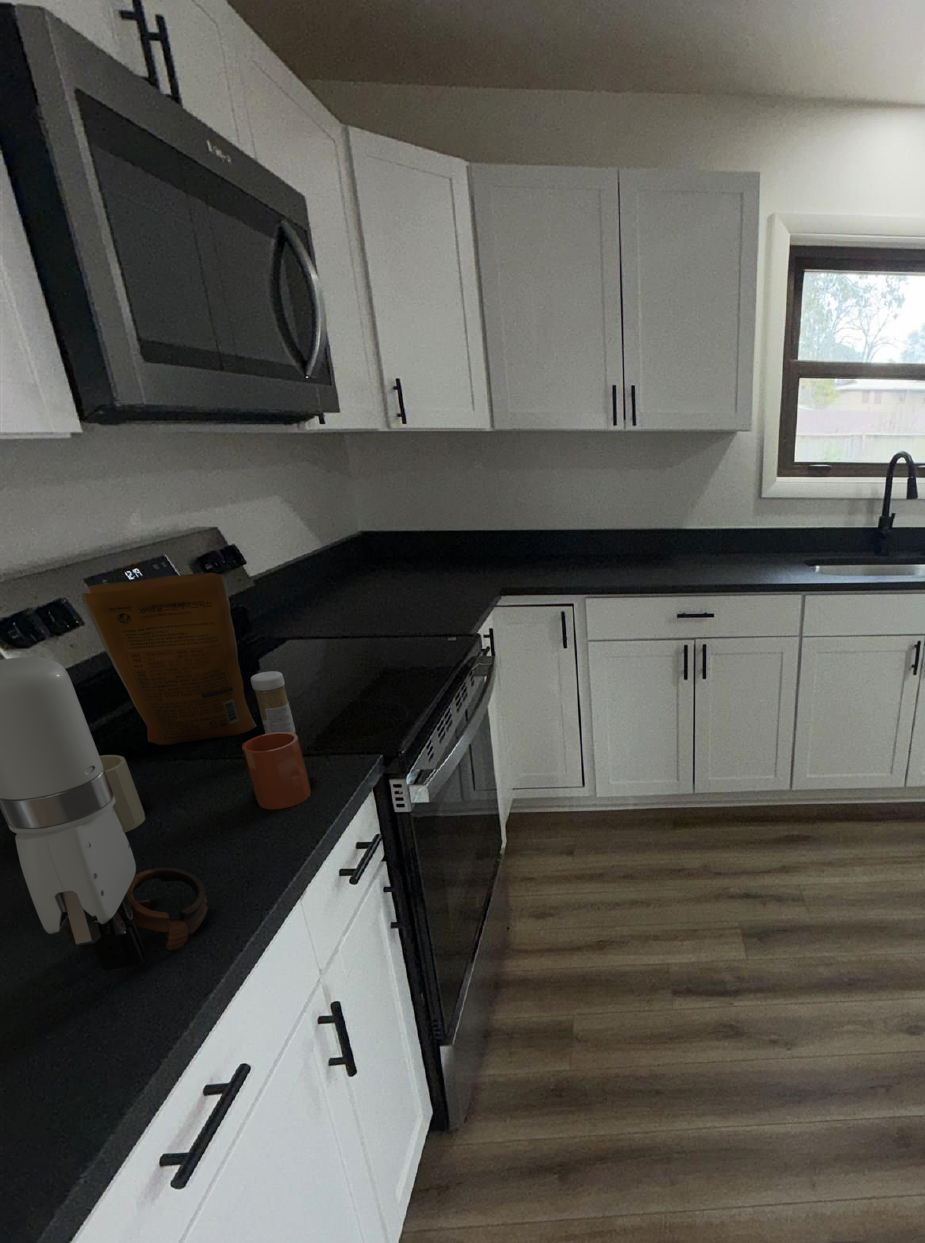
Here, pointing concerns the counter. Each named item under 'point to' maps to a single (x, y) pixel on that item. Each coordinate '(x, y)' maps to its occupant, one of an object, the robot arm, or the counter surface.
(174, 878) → the reddish-brown ring-shaped piece
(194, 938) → the counter surface
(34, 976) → the counter surface
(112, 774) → the cream cup
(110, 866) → the robot arm
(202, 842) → the counter surface
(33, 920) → the counter surface
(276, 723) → the sprinkles bottle
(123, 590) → the pancake mix bag
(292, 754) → the terracotta cup
